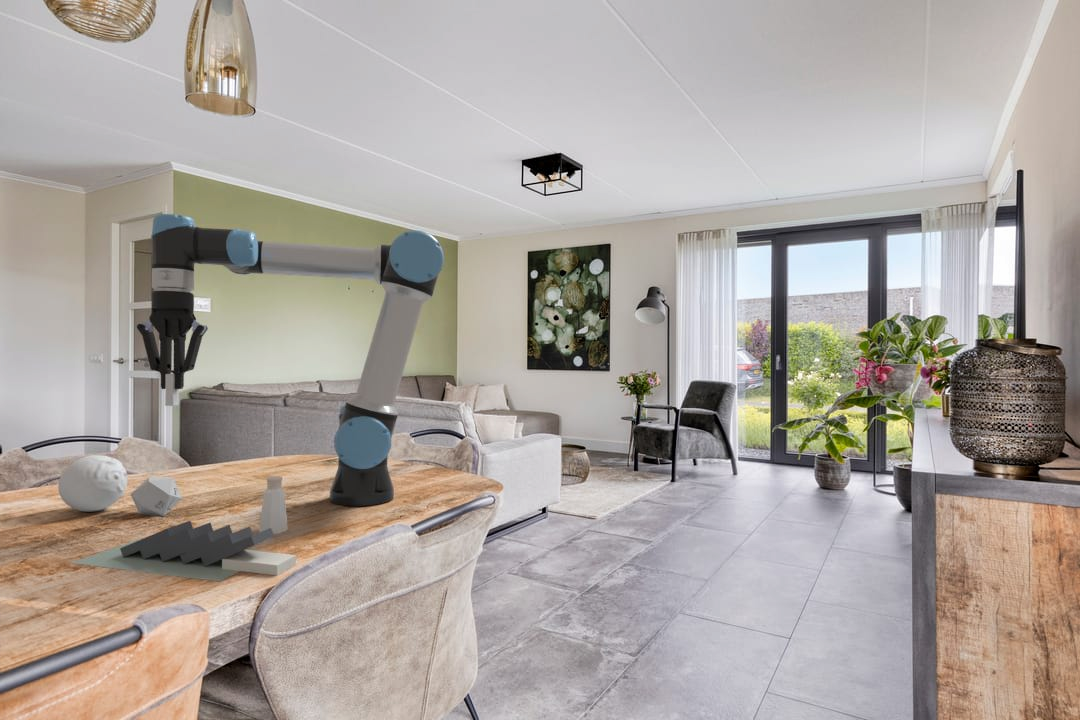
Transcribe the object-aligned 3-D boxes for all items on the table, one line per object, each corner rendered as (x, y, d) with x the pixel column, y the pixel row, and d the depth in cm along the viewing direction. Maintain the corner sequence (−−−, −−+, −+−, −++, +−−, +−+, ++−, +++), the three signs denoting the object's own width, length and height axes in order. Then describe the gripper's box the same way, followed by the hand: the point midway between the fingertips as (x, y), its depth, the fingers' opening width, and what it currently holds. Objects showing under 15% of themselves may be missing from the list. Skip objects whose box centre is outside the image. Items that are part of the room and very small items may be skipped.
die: (143, 525, 125) (177, 485, 127) (113, 501, 126) (147, 463, 129) (165, 528, 132) (197, 491, 135) (136, 506, 134) (168, 469, 137)
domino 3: (159, 552, 100) (207, 532, 98) (182, 543, 105) (229, 524, 103) (162, 562, 100) (211, 542, 98) (185, 552, 105) (232, 533, 103)
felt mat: (69, 566, 99) (69, 562, 99) (142, 541, 112) (142, 538, 112) (219, 585, 93) (219, 581, 93) (277, 556, 107) (277, 552, 107)
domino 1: (120, 548, 102) (167, 528, 100) (145, 539, 107) (190, 520, 105) (123, 557, 102) (170, 537, 100) (148, 548, 107) (193, 529, 105)
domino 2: (140, 550, 101) (187, 530, 99) (164, 541, 106) (210, 522, 104) (143, 559, 101) (191, 539, 99) (167, 550, 106) (213, 531, 104)
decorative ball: (104, 518, 126) (106, 461, 126) (43, 518, 125) (44, 460, 125) (138, 504, 138) (139, 451, 138) (82, 503, 137) (83, 450, 137)
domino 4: (180, 555, 100) (229, 534, 98) (202, 546, 104) (250, 526, 103) (183, 564, 99) (232, 543, 98) (205, 554, 104) (253, 535, 102)
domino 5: (200, 557, 99) (251, 536, 97) (222, 547, 104) (270, 527, 102) (204, 566, 99) (254, 545, 97) (226, 556, 103) (274, 536, 102)
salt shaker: (290, 528, 123) (292, 474, 123) (284, 536, 118) (285, 479, 117) (262, 529, 122) (263, 474, 122) (254, 537, 117) (256, 480, 117)
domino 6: (222, 559, 98) (277, 565, 96) (243, 549, 103) (296, 555, 101) (221, 568, 98) (277, 575, 96) (243, 558, 103) (296, 564, 101)
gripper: (129, 288, 121) (128, 406, 121) (199, 290, 123) (198, 406, 123) (147, 292, 129) (147, 403, 129) (213, 293, 130) (212, 403, 131)
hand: (172, 405), depth 126 cm, fingers closed
